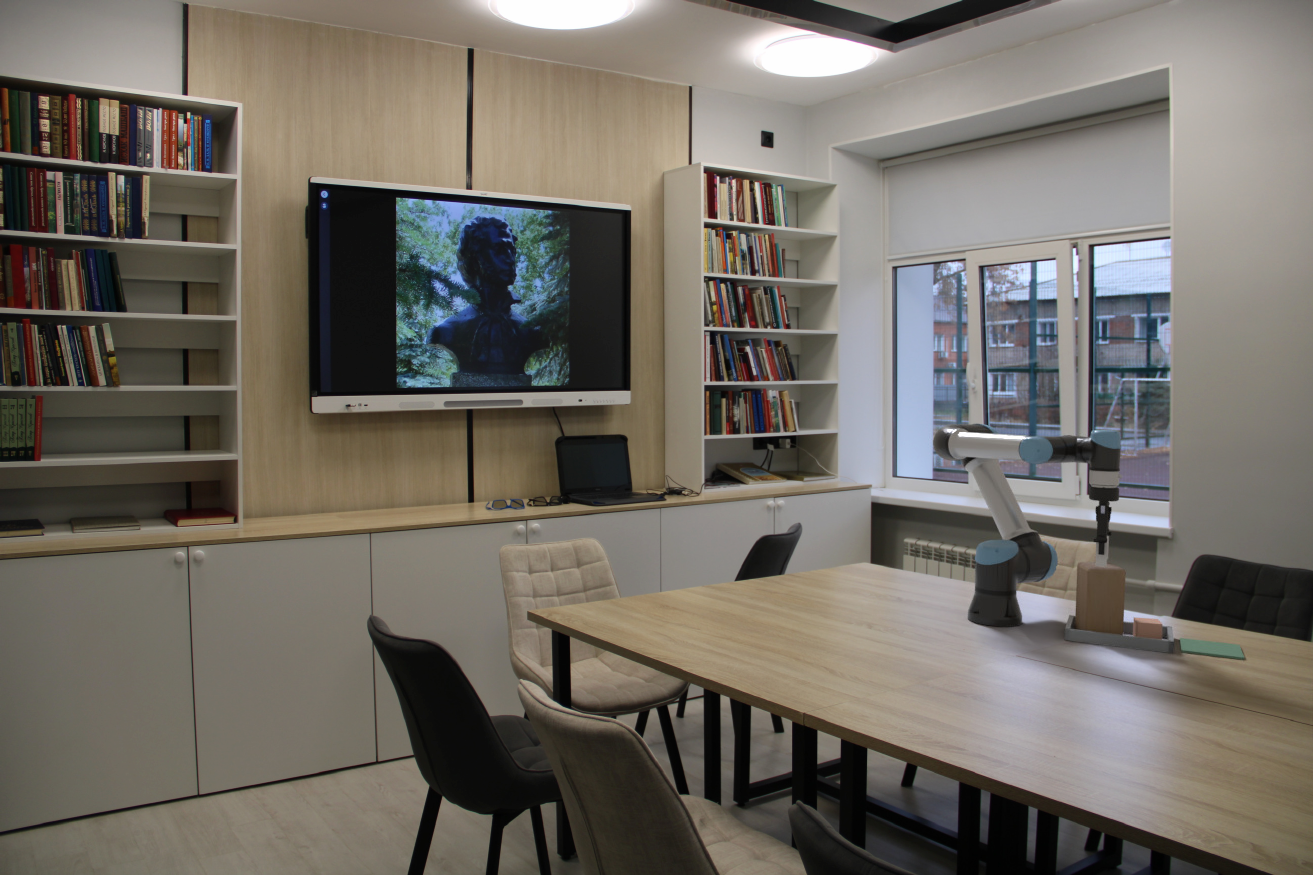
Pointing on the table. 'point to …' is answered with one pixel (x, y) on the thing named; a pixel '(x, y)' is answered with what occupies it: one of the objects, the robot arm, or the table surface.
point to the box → (1147, 628)
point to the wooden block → (1100, 598)
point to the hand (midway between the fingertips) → (1101, 562)
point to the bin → (1121, 638)
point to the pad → (1211, 648)
